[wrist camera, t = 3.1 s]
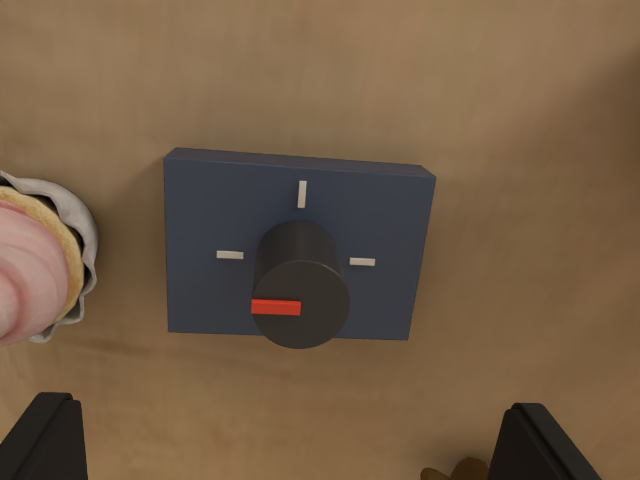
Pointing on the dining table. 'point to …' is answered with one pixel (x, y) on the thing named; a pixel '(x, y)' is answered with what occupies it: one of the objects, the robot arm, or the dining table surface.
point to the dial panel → (282, 206)
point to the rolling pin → (460, 471)
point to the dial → (299, 286)
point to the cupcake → (42, 258)
